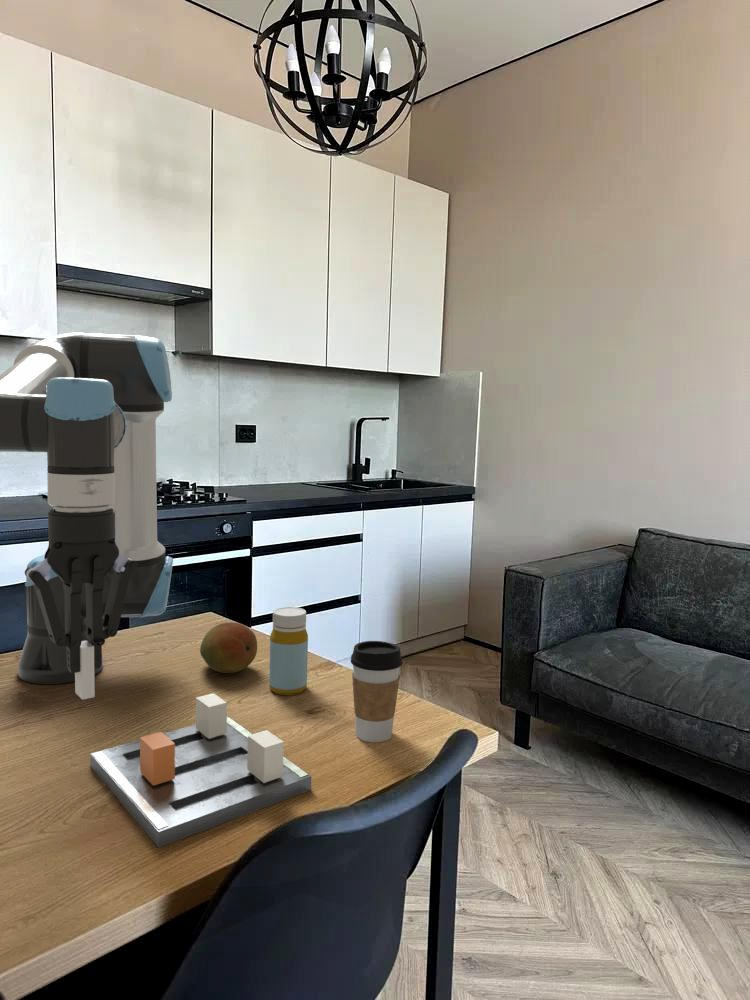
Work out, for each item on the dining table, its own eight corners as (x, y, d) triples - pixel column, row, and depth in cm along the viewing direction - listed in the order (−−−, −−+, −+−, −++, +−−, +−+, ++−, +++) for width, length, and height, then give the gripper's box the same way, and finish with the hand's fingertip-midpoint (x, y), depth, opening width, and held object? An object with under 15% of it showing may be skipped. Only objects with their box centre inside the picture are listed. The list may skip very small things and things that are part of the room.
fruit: (228, 687, 134) (228, 635, 132) (181, 672, 140) (181, 623, 139) (269, 669, 143) (269, 621, 142) (223, 656, 150) (223, 610, 149)
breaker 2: (247, 776, 99) (247, 735, 98) (265, 769, 101) (266, 729, 100) (263, 789, 96) (264, 747, 95) (282, 782, 97) (283, 741, 97)
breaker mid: (140, 778, 97) (140, 737, 97) (161, 772, 99) (161, 731, 98) (153, 792, 94) (153, 749, 93) (174, 785, 96) (174, 743, 95)
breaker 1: (195, 734, 111) (195, 697, 110) (213, 729, 113) (213, 693, 112) (208, 744, 108) (208, 707, 107) (226, 739, 110) (226, 702, 109)
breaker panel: (90, 766, 103) (90, 752, 102) (227, 727, 117) (227, 715, 116) (158, 847, 84) (158, 831, 84) (311, 789, 99) (311, 775, 98)
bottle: (262, 692, 132) (263, 613, 130) (281, 679, 138) (282, 604, 136) (295, 698, 129) (297, 618, 127) (313, 685, 136) (315, 609, 134)
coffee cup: (362, 750, 110) (365, 657, 109) (339, 728, 118) (342, 640, 116) (408, 740, 114) (412, 650, 113) (384, 719, 122) (387, 635, 120)
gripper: (32, 515, 79) (37, 718, 82) (146, 508, 87) (147, 692, 90) (15, 506, 84) (20, 697, 87) (123, 501, 93) (125, 674, 96)
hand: (84, 694), depth 89 cm, fingers closed
